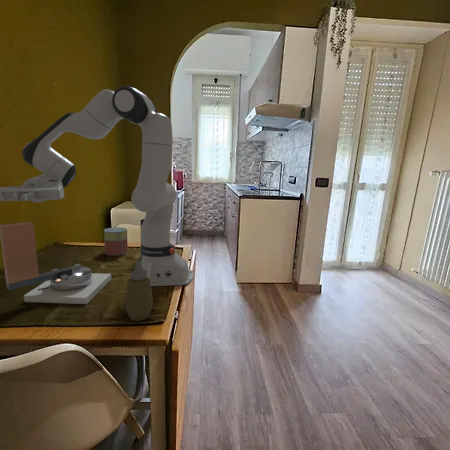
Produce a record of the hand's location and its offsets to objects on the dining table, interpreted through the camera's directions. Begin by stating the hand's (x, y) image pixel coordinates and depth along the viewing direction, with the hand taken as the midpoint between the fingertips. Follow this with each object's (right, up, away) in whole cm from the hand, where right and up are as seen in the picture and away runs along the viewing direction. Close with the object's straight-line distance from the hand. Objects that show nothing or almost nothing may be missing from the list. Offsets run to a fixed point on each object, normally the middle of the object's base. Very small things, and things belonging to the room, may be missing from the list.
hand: (19, 198), depth 85 cm
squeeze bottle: (+40, -37, -4) cm, 54 cm away
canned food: (+9, -23, +54) cm, 60 cm away
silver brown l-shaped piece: (+7, -30, +6) cm, 32 cm away
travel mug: (+27, -25, +49) cm, 61 cm away
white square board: (+11, -32, +11) cm, 35 cm away
